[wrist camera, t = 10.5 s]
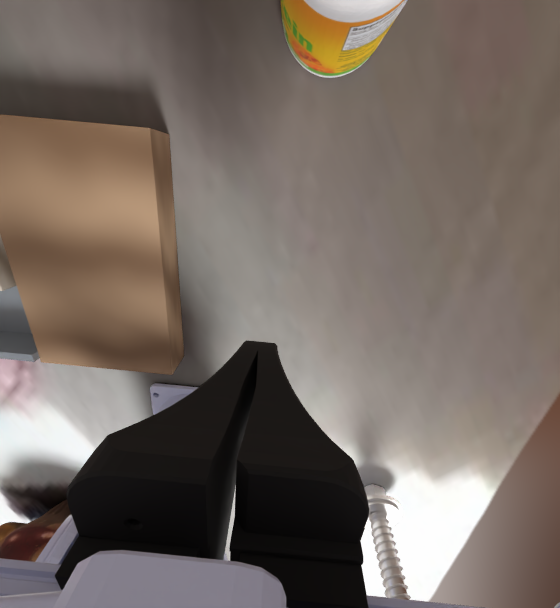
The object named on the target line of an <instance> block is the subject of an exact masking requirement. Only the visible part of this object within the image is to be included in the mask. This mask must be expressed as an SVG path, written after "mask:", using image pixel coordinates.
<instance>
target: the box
mask: <svg viewBox="0 0 560 608" xmlns="http://www.w3.org/2000/svg"><path fill="white" fill-rule="evenodd" d="M0 358H1V359H11V360H22V361H32V362H35V361H36V360H37V359H39V358H40V357H39V354H38V351H37V347H36V344H35V341H34V338H33V335H32V332H31V329H30V326H29V323H28V319H27V316H26V313H25V310H24V307H23V304H22V301H21V298H20V295H19V291H18V288H17V286H14V287H11V288H9V289H6V290H4V291H0Z"/></svg>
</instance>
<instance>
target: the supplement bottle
mask: <svg viewBox="0 0 560 608" xmlns="http://www.w3.org/2000/svg"><path fill="white" fill-rule="evenodd" d="M406 2H407V0H281V13H282V23H283V29H284V34H285V38H286V41H287V44H288V46H289V48H290V51H291V52H292V54H293V56H294V57H295V59H296V60H297V61H298V62H299V64H300V65H301V66H303V67H304V68H305V69H306V70H307V71H309V72H311V73H312V74H315V75H317V76H320V77H326V78H334V77H340V76H343V75H346V74H348V73H351V72H353V71H354V70H356V69H357V68H359V67H360V66H361V65H362V64H364V63H365V62H366V61H367V60H368V59H369V57H370V56H371V55H372V54H373V52H374V51H375V49H376V48H377V47H378V45H379V44H380V42H381V41H382V39H383V38H384V36H385V35H386V33H387V31H388V30H389V28H390V27H391V25H392V24H393V22H394V21H395V19H396V17H397V16H398V14H399V13H400V11H401V10H402V8H403V6H404V5H405V3H406Z"/></svg>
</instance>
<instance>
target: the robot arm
mask: <svg viewBox="0 0 560 608" xmlns="http://www.w3.org/2000/svg"><path fill="white" fill-rule="evenodd" d="M156 393H158V394H156ZM150 394H151V402H152V409H153V416H151V417H149V418H147V419H145V420H143V421H140V422H138V423H136V424H133V425H131V426H129V427H126V428H124V429H122V430H119V431H117V432H114V433H112V434H109V435H108V436H107V437H106V438H105V439H104V440H103V442H102V443H101V444H100V445H99V446H98V447H97V448H96V450H95V451H94V452H93V454H92V455H91V456H90V457H89V459H88V460H87V462H86V463H85V464H84V466H83V467H82V468H81V470H80V471H79V473H78V474H77V475H76V477H75V478H74V479H73V481H72V482H71V484H70V485H69V487H68V490H67V494H66V496H67V502H68V507H69V510H70V512H71V515H70V516H68V517H67V518H66V520H65V521H64V522H63V523H62V524H61V526H60V527H59V528H58V530H57V531H56V532H55V534H54V535H53V536H52V538H51V539H50V541H49V542H48V543H47V545H46V546H45V548H44V549H43V551H42V552H41V554H40V555H39V557H38V558H37V560H36V561H35V562H31V561H22V560H12V559H2V558H0V608H484V607H474V606H464V605H455V604H444V603H435V602H425V601H415V600H405V599H396V598H386V597H376V596H366V590H365V584H364V579H363V573H362V567H361V565H362V564H363V553H362V548H361V542H360V540H361V537H362V535H363V532H364V529H365V526H366V523H367V520H368V517H369V505H368V499H367V495H366V492H365V489H364V486H363V483H362V480H361V478H360V475H359V472H358V470H357V468H356V465H355V463H354V461H353V459H352V458H351V457H350V456H348V455H347V454H346V453H345V452H344V451H343V450H342V449H341V448H340V447H338V446H337V445H336V444H335V443H334V442H333V441H332V440H331V439H330V438H329V437H328V436H327V435H326V434H325V433H324V432H323V431H322V430H321V428H320V427H319V426H318V425H317V423H316V422H315V421H314V420H313V419H312V417H311V416H310V415H309V414H308V412H307V411H306V409H305V408H304V407H303V405H302V404H301V402H300V401H299V399H298V397H297V396H296V394H295V392H294V391H293V389H292V387H291V385H290V383H289V381H288V379H287V377H286V375H285V372H284V370H283V367H282V365H281V362H280V359H279V355H278V350H277V345H276V344H275V343H266V342H256V341H245V342H244V343H243V344H242V345H241V347H240V348H239V349H238V350H237V352H236V353H235V354H234V355H233V356H232V357H231V358H230V359H229V360H228V361H227V362H226V364H225V365H224V366H223V367H222V368H221V369H220V370H218V371H217V372H216V373H215V374H214V375H213V376H212V377H211V378H210V379H208V380H207V381H206V382H205V383H204V384H202V385H201V386H200V387H189V386H179V385H169V384H158V383H154V384H153V385H152V386H151V387H150ZM235 485H236V497H235V519H234V525H233V531H232V536H231V542H230V551H231V556H230V561H228V560H227V556H226V554H225V547H226V540H227V534H228V528H229V522H230V515H231V509H232V503H233V497H234V491H235ZM554 608H560V603H558V604H557V605H556V606H555V607H554Z"/></svg>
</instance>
